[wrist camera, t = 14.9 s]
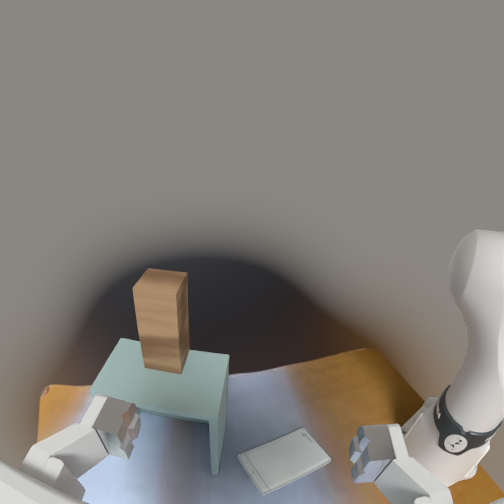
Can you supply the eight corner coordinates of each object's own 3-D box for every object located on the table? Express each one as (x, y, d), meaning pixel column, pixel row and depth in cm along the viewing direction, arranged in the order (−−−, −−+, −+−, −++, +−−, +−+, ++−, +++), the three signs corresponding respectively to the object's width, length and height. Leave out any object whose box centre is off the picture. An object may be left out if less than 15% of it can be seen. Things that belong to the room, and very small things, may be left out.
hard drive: (303, 426, 47) (236, 453, 41) (332, 459, 40) (263, 493, 34) (301, 431, 47) (236, 458, 42) (329, 463, 41) (262, 497, 35)
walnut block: (181, 374, 37) (176, 293, 33) (144, 367, 37) (132, 288, 33) (189, 349, 42) (187, 272, 37) (155, 344, 42) (148, 268, 37)
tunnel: (218, 475, 38) (217, 416, 32) (117, 454, 38) (89, 389, 32) (226, 421, 48) (229, 354, 42) (137, 406, 48) (121, 337, 42)
